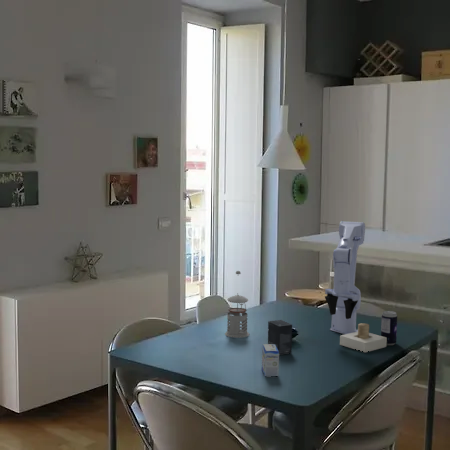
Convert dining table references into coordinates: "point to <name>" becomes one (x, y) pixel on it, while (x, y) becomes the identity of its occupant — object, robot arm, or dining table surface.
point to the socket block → (363, 342)
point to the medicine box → (270, 360)
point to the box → (280, 336)
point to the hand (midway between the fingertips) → (340, 316)
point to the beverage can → (389, 327)
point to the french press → (237, 317)
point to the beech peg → (363, 331)
